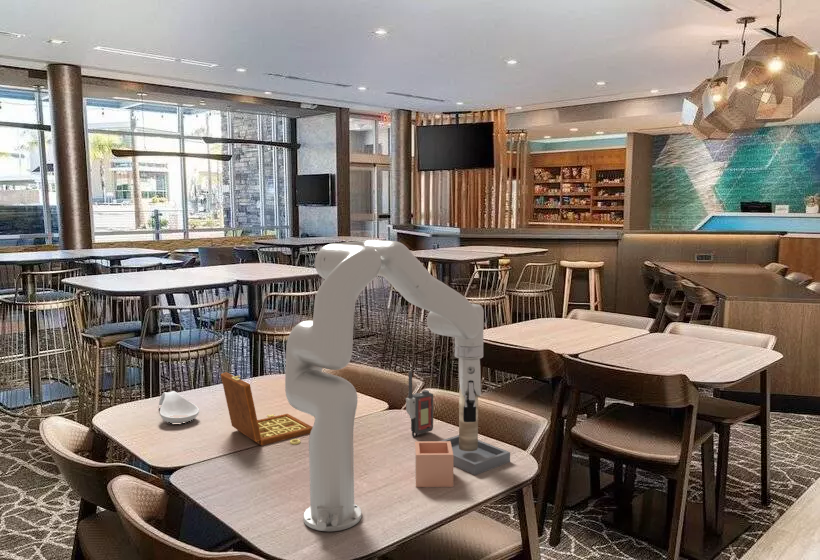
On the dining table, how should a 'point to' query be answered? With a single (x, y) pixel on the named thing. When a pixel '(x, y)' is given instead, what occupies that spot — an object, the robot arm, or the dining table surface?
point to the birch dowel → (467, 427)
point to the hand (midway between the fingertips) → (468, 417)
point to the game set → (247, 420)
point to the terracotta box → (433, 464)
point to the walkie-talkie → (419, 410)
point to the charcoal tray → (478, 457)
